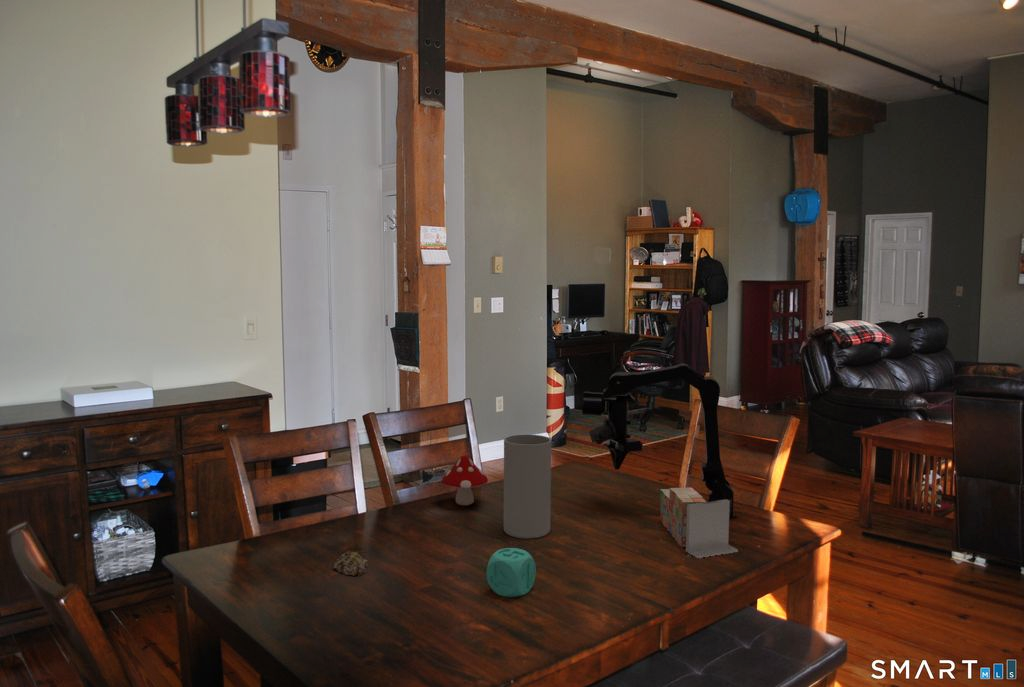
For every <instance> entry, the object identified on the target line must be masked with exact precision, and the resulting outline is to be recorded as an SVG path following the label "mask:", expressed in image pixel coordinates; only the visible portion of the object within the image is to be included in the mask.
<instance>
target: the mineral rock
mask: <svg viewBox="0 0 1024 687" xmlns="http://www.w3.org/2000/svg"><path fill="white" fill-rule="evenodd" d="M369 565H370V563H369V560H368V559H366V558H365V557H364V555H360V554H359V553H358V552H357V551H345V553H342V554H341V555H340V556H339V557H338V558H337V560H336V562H334V564H333V569H335V570H337V571H338V572H339V573H342V574H343V575H346V576H354V577H355V576H362V575H363V574H365V573H366V567H368V566H369Z"/></svg>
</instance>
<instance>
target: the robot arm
mask: <svg viewBox="0 0 1024 687" xmlns="http://www.w3.org/2000/svg"><path fill="white" fill-rule="evenodd" d="M679 379H680V380H683V381H684V382H686V383H687V384H689V385H690V386H692V387H693V388H694V389H696V390H697V391H698V395H699V398H700V403H701V406H702V411H703V426H704V440H705V453H706V454H705V456H706V457H705V462H700V467H701V474H700V476H701V480H702V483H703V482H704V484H705V487H706V488H707V489H708V490H709V491H711V493H709V494H708V499H707V502H711V501H718V500H726V499H727V500H729V501H730V507H729V519H733V518H737V517H738V516H737V514H734V498H735V497H734V496H735V495H734V492H735V491H734V490H733V487H732V484H731V483H730V482H729V481H728V480H727V479H726V475H725V471H724V468H723V465H722V461H721V453H720V440H719V439H720V438H719V437H720V436H719V421H718V408H719V407H718V406H719V401H720V394H721V393H720V392H721V386H720V384H719V383H718V381H717V379H716V378H714V377H712V376H705V375H703V374H701V373H700V372H698V371H697V370H695V369H693V368H692V367H690V366H689V365H688V364H686V363H683V362H682V363H679V364H677V365H671V366H666V367H661V368H656V369H651V370H645V371H639V372H637V371H636V372H633V371H618V372H615V373H613V374H612V375H611V376H610V378H609V380H608V385H607V386H606V388H604V389H603V391H602V392H591V391H584V392H583V398H582V403H581V404H582V406H581V411H582V416H596V417H597V416H600V417H602V416H603V414H604V413H606V412H607V418H604V421H603V425H599V426H597V427H595V428H593V429H591V430H589V431H588V433H589V436H590V440H591V442H592V443H595V444H596V445H601V444H602V445H603V446H604V447H605V448H606V449H607V450H608V451H609V453H610V457H611V461H612V464H613V468H614V470H620V469H621V466H622V464H623V463H624V460H625V459H626V456H627V455H628V453H632V452H642V451H643V450H644V444H643V442H642V441H641V440H639V439H636V438H631V434H630V433H629V431H628V428H629V427H628V426H629V425H631V424H632V423H631V422H632V421H631V420H629V403H634V402H635V399H636V398H635V397H634V396H633V395H632V394H631V392H632V391H633V390H635V389H637V388H640V387H644V386H648V385H655V384H661V383H664V382H671V381H674V380H679ZM626 393H627V394H626ZM623 394H625V395H623ZM614 395H615V396H616V397H614ZM607 402H608V403H607ZM607 404H608V406H607ZM607 408H608V409H607ZM604 442H605V443H604Z"/></svg>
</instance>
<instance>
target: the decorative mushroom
mask: <svg viewBox="0 0 1024 687" xmlns="http://www.w3.org/2000/svg"><path fill="white" fill-rule="evenodd" d="M488 481H489V480H488V477H487V476H486V474H485V472H484V471H483V470H481V469H480V468H479V467H478V466H477V465H476V464H475V463H474V461H473V460H472V459H471V457H469V456H468V455H465V454H464V455H461V456H460V457H459V458H458V459H457V460H456V462H455V463H454V465H453V466H452V467H451V468H450V469H448V471H447V472H446V473H445V474H444V475H443V477H442V478H441V483H442V484H443V485H445V486H447V487H451V488H456V489H457V491H456V495H455V503H456V504H457V505H459V506H464V507H467V506H470V505H472V504H473V503H474V501H475V498H474V493H473V490H472V488H477V487H482V486H484V485H485V484H487V483H488Z"/></svg>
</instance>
